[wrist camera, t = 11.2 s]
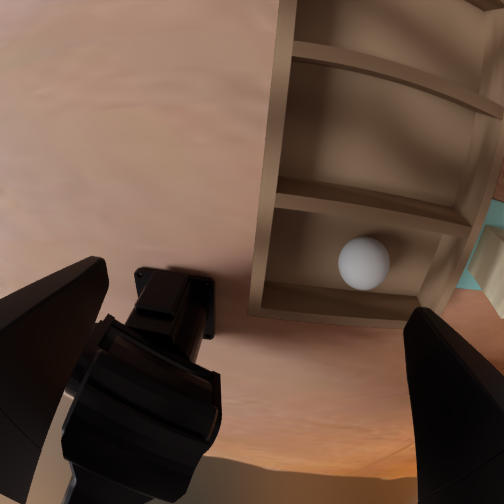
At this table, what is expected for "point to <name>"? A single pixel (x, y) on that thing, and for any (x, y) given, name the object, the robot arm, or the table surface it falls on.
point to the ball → (364, 263)
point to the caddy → (377, 154)
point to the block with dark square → (490, 266)
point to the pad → (497, 217)
